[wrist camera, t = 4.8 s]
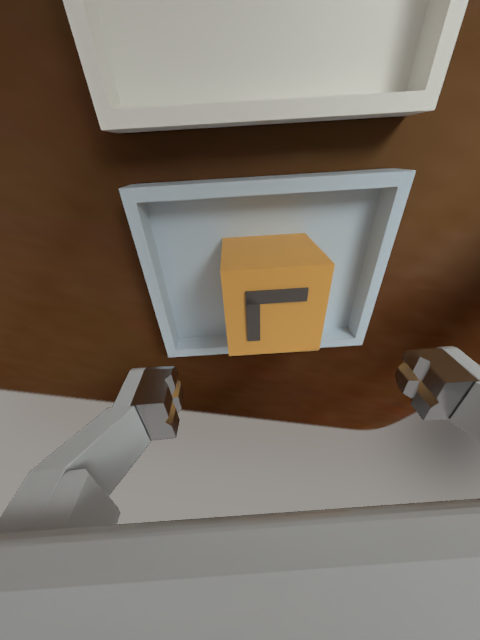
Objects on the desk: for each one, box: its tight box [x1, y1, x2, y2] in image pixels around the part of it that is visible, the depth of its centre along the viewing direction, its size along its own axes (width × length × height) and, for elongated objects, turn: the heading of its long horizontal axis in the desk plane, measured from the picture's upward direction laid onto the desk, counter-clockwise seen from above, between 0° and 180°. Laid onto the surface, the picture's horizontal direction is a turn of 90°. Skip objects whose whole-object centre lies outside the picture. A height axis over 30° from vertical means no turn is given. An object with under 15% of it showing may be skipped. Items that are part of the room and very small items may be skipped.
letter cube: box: [220, 233, 335, 356], centre depth 13 cm, size 4×4×5 cm
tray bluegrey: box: [119, 168, 416, 358], centre depth 14 cm, size 10×13×2 cm
